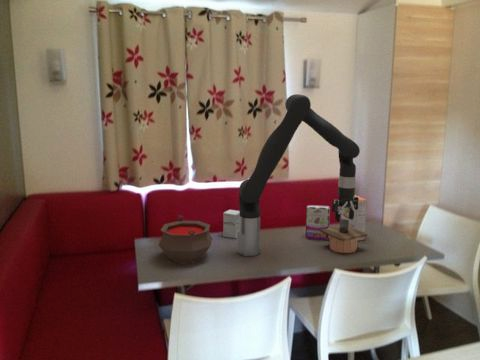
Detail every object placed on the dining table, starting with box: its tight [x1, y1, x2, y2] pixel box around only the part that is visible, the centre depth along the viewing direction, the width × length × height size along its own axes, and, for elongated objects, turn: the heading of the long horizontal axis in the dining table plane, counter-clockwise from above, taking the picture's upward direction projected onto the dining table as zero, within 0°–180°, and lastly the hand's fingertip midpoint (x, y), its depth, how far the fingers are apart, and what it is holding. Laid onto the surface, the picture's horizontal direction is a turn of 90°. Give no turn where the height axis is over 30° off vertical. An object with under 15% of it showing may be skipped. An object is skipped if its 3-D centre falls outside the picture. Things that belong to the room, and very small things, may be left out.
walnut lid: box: [320, 218, 368, 241], centre depth 193 cm, size 15×15×6 cm
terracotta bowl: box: [329, 236, 358, 254], centre depth 195 cm, size 12×12×7 cm
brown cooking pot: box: [158, 215, 213, 264], centre depth 181 cm, size 24×24×16 cm
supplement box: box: [222, 209, 240, 239], centre depth 210 cm, size 7×7×13 cm
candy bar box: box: [305, 204, 331, 241], centre depth 207 cm, size 11×5×16 cm, turn 73°
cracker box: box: [340, 194, 368, 242], centre depth 210 cm, size 14×6×21 cm, turn 17°
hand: (344, 220), depth 193 cm, fingers open, 8 cm apart
